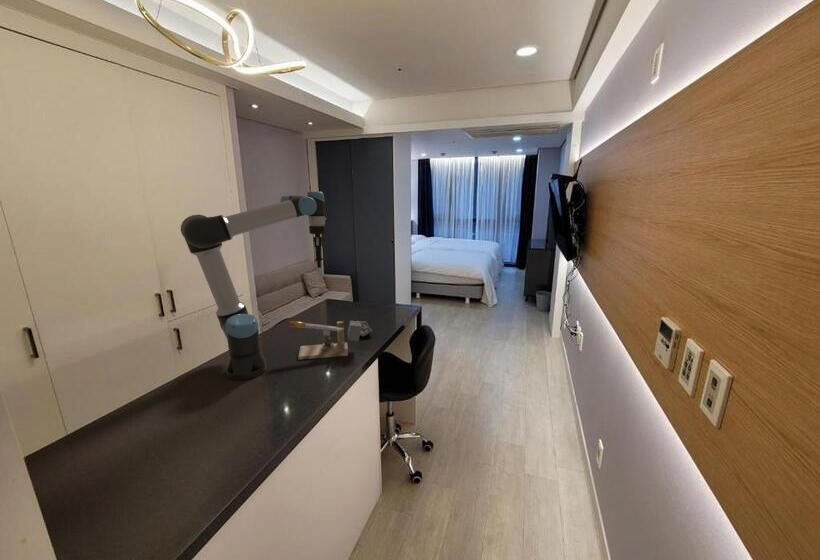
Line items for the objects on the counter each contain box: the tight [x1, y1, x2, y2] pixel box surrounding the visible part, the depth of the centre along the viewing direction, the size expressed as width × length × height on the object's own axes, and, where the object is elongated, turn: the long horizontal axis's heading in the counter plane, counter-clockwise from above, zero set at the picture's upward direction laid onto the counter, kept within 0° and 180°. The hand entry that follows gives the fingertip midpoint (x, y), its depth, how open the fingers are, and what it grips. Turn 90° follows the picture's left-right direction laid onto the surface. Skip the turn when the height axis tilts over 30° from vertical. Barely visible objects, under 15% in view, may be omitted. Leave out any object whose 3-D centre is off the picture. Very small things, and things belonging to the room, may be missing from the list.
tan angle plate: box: [297, 320, 349, 360], centre depth 160 cm, size 22×11×13 cm, turn 102°
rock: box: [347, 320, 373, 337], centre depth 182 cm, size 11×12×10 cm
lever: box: [288, 320, 361, 342], centre depth 158 cm, size 32×6×8 cm, turn 102°
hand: (319, 273), depth 168 cm, fingers closed
